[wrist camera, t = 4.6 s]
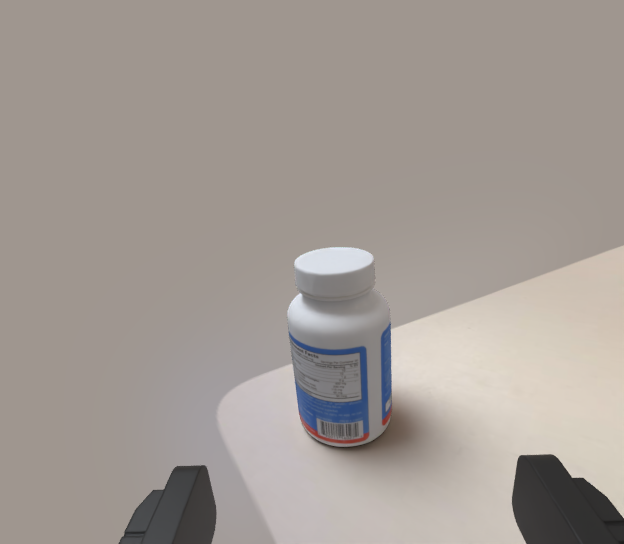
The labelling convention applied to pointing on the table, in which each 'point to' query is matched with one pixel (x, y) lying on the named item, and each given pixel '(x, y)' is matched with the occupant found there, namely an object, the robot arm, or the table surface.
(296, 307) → the pill bottle
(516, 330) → the table surface
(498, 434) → the table surface
